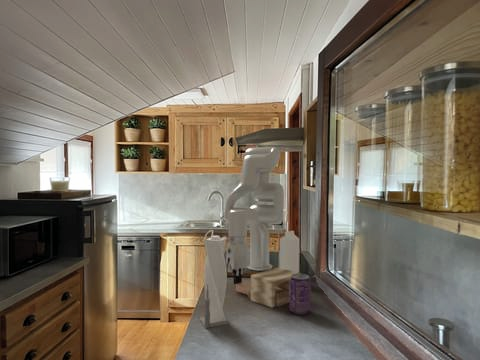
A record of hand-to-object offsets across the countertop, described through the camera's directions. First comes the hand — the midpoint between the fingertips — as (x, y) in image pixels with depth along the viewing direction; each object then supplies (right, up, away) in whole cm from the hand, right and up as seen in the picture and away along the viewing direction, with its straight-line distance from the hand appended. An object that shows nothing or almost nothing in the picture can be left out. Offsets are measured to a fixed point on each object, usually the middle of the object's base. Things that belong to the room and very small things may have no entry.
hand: (237, 284), depth 141 cm
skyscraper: (-7, -1, -34) cm, 35 cm away
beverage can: (+21, -1, -27) cm, 34 cm away
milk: (+22, -1, +6) cm, 23 cm away
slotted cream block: (+14, -1, -14) cm, 20 cm away
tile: (+7, -2, -8) cm, 11 cm away
